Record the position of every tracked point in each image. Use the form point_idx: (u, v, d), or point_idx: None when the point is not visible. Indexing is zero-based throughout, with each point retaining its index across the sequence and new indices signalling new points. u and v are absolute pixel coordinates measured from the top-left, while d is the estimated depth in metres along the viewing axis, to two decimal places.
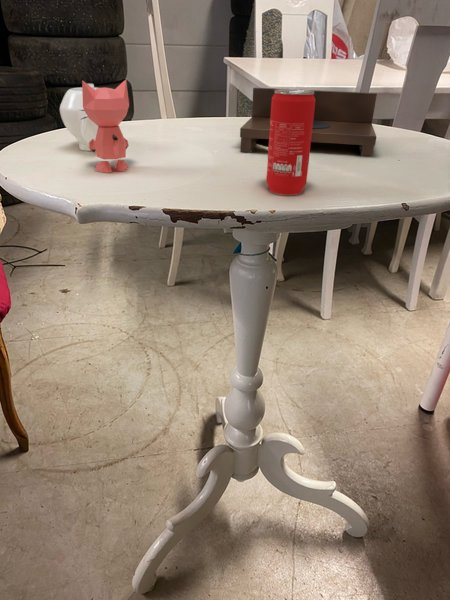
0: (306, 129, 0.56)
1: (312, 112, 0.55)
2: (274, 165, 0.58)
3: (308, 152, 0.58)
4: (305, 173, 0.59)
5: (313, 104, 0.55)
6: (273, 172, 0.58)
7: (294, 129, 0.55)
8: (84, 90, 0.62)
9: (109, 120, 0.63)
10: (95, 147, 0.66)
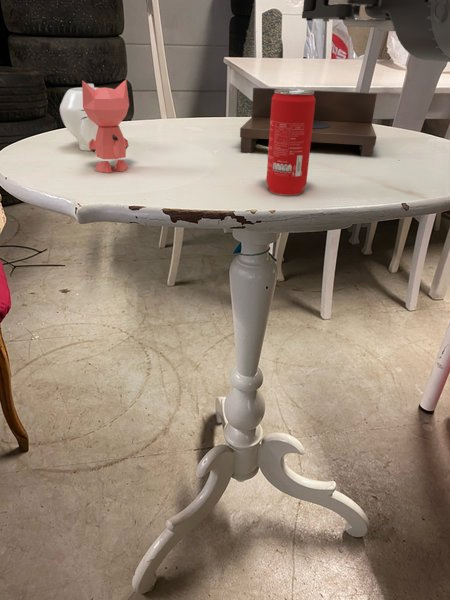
0: (306, 129, 0.56)
1: (312, 112, 0.55)
2: (274, 165, 0.58)
3: (308, 152, 0.58)
4: (305, 173, 0.59)
5: (313, 104, 0.55)
6: (273, 172, 0.58)
7: (294, 129, 0.55)
8: (84, 90, 0.62)
9: (109, 120, 0.63)
10: (95, 147, 0.66)
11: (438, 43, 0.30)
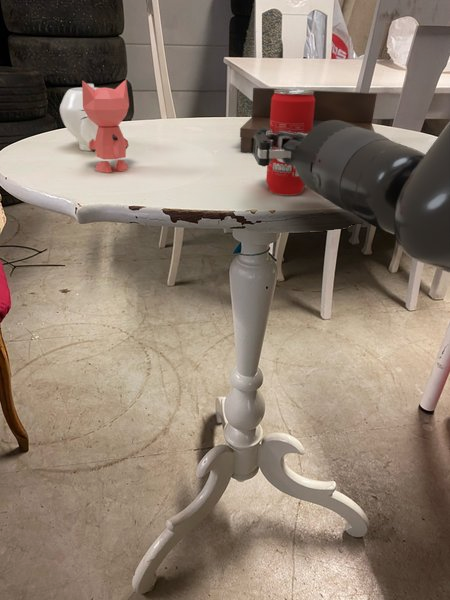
0: (306, 129, 0.56)
1: (312, 112, 0.55)
2: (274, 165, 0.58)
3: None
4: None
5: (313, 104, 0.55)
6: (273, 172, 0.58)
7: (294, 129, 0.55)
8: (84, 90, 0.62)
9: (109, 120, 0.63)
10: (95, 147, 0.66)
11: (321, 194, 0.47)
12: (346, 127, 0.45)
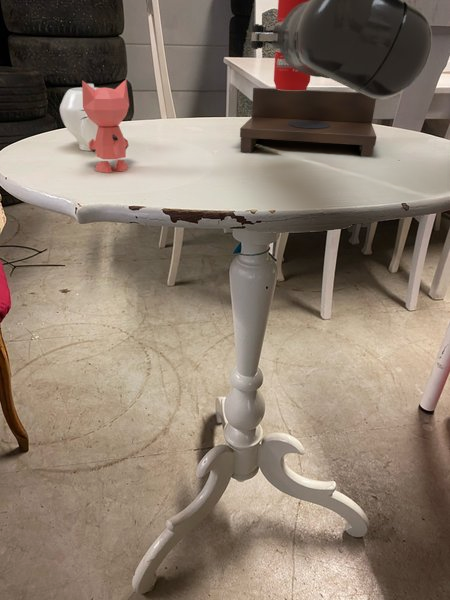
0: None
1: None
2: (278, 61, 0.65)
3: None
4: None
5: None
6: (277, 68, 0.65)
7: None
8: (84, 90, 0.62)
9: (109, 120, 0.63)
10: (95, 147, 0.66)
11: (292, 64, 0.53)
12: None
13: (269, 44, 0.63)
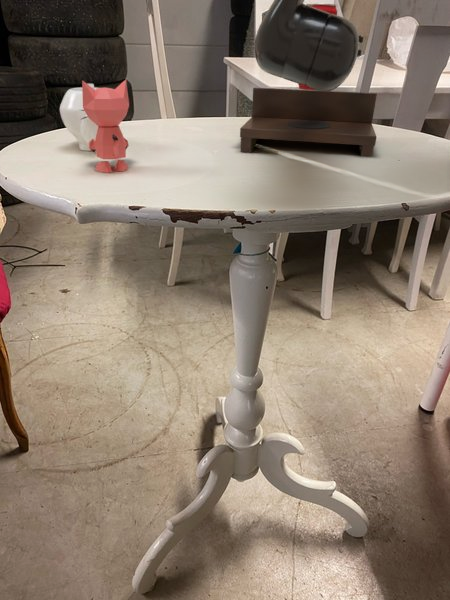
0: None
1: None
2: None
3: None
4: None
5: None
6: None
7: None
8: (84, 90, 0.62)
9: (109, 120, 0.63)
10: (95, 147, 0.66)
11: None
12: None
13: None
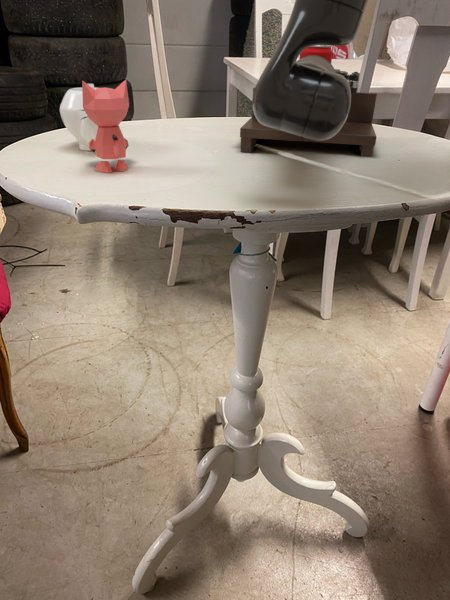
0: None
1: None
2: None
3: None
4: None
5: (326, 55, 0.74)
6: None
7: None
8: (84, 90, 0.62)
9: (109, 120, 0.63)
10: (95, 147, 0.66)
11: None
12: (307, 56, 0.64)
13: None
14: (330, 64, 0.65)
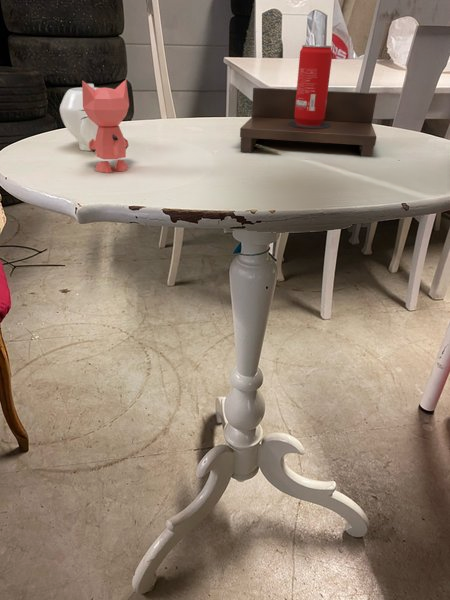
0: (319, 74, 0.75)
1: (325, 61, 0.74)
2: (296, 101, 0.79)
3: (322, 93, 0.77)
4: (319, 109, 0.78)
5: (326, 55, 0.74)
6: (296, 107, 0.79)
7: (309, 73, 0.75)
8: (84, 90, 0.62)
9: (109, 120, 0.63)
10: (95, 147, 0.66)
11: None
12: None
13: None
14: None
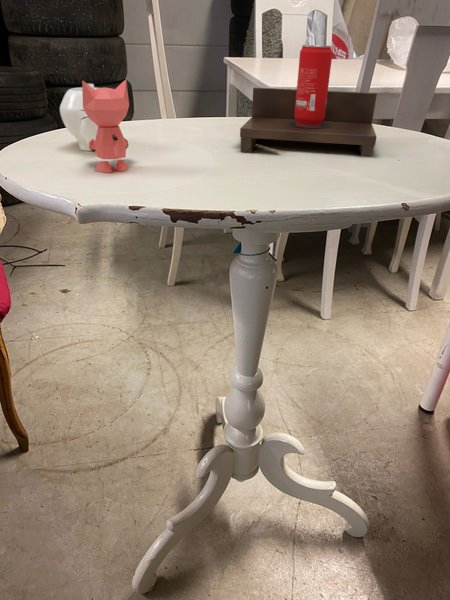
0: (319, 74, 0.75)
1: (325, 61, 0.74)
2: (296, 101, 0.79)
3: (322, 93, 0.77)
4: (319, 109, 0.78)
5: (326, 55, 0.74)
6: (296, 107, 0.79)
7: (309, 73, 0.75)
8: (84, 90, 0.62)
9: (109, 120, 0.63)
10: (95, 147, 0.66)
11: None
12: None
13: None
14: None
